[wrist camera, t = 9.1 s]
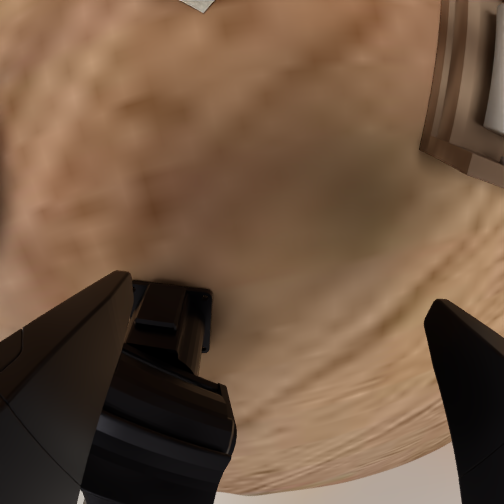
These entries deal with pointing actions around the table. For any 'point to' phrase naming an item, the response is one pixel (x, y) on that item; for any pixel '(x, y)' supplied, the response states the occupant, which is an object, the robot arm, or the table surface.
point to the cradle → (464, 92)
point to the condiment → (199, 4)
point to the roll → (497, 80)
